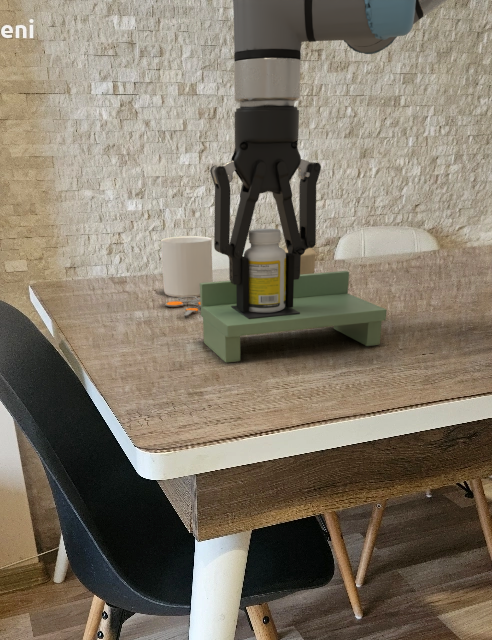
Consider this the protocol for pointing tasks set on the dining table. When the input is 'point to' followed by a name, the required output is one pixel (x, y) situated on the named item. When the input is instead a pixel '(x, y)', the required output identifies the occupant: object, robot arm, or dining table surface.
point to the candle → (306, 261)
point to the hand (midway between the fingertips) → (264, 306)
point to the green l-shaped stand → (289, 313)
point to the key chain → (193, 302)
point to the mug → (186, 264)
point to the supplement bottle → (266, 271)
